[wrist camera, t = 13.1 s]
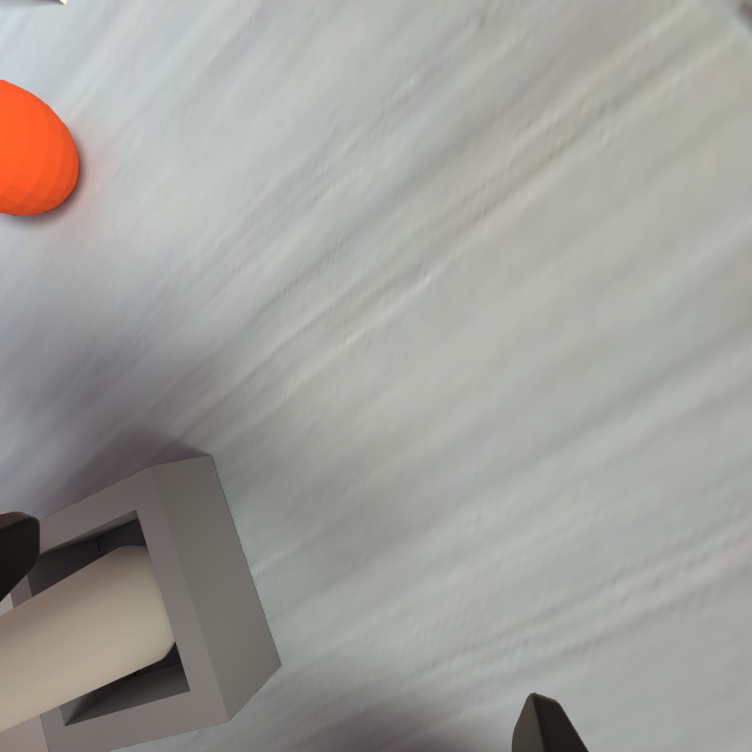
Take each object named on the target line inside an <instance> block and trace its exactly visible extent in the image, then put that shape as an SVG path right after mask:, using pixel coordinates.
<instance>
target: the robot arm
mask: <svg viewBox="0 0 752 752" xmlns="http://www.w3.org/2000/svg"><path fill="white" fill-rule="evenodd" d="M39 557H40V522H39V520H38V519H37V518H36V517H33V516H30V515H27V514H25V513H22V512H10V513H6V514H1V515H0V602H1V601H2V600H3V598H5V596H7V594H8V593H10V591H11V590H12V589H13V588H14V587H15V586H16V585H17V584H18V583H19V582H20V581H21V580H22V579H23V578H24V577H25V576H26V575H27V574H28V573H29V572H30V571H31V570H32V569H33V568H34V566H35V565H36V563H37V561H38V559H39ZM512 752H589V751H588V750H587V748H586V746H585V745H584V743H583V741H582V740H581V738H580V736H579V735H578V733H577V731H576V730H575V728H574V726H573V725H572V723H571V721H570V720H569V718H568V716H567V715H566V713H565V712H564V710H563V708H562V707H561V705H560V704H559V703H558V702H557V701H556V700H554V699H551V698H548V697H545V696H543V695H540V694H537V693H531V694H530V695H529V696H528V697H527V699H526V702H525V704H524V707H523V709H522V712H521V714H520V716H519V719H518V721H517V724H516V726H515V729H514V732H513V738H512Z"/></svg>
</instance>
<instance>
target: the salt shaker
mask: <svg viewBox="0 0 752 752" xmlns="http://www.w3.org/2000/svg"><path fill="white" fill-rule="evenodd" d="M175 642H176V641H175V638H174V635H173V631H172V628H171V625H170V621H169V618H168V614H167V611H166V608H165V604H164V601H163V598H162V594H161V591H160V588H159V584H158V581H157V578H156V574H155V571H154V568H153V564H152V561H151V558H150V554H149V551H148V548H147V546H139V545H126V546H121V547H118V548H117V549H115V550H113V551H111V552H110V553H108V554H106V555H105V556H103V557H101V558H99V559H98V560H96V561H94V562H92V563H91V564H89V565H87V566H86V567H84V568H82V569H80V570H79V571H77V572H75V573H74V574H72V575H70V576H68V577H67V578H65V579H63V580H62V581H60V582H58V583H56V584H55V585H53V586H51V587H49V588H48V589H46V590H44V591H43V592H41V593H39V594H37V595H36V596H34V597H32V598H31V599H29V600H27V601H25V602H24V603H22V604H20V605H19V606H17V607H15V608H13V609H12V610H10V611H8V612H7V613H5V614H3V615H1V616H0V732H2V731H4V730H6V729H8V728H11V727H13V726H15V725H18V724H20V723H22V722H24V721H26V720H29V719H31V718H33V717H35V716H37V715H40V714H42V713H44V712H46V711H49V710H51V709H53V708H55V707H57V706H60V705H62V704H64V703H66V702H69V701H71V700H73V699H75V698H77V697H80V696H82V695H84V694H86V693H88V692H91V691H93V690H95V689H97V688H100V687H102V686H104V685H106V684H108V683H111V682H113V681H115V680H117V679H120V678H122V677H124V676H126V675H128V674H131V673H133V672H135V671H137V670H139V669H142V668H144V667H146V666H148V665H151V664H153V663H155V662H157V661H159V660H162V659H163V658H164V657H165V656H166V655H167V654H168V653H169V652H170V650H171V649H172V647H173V645H174V644H175Z"/></svg>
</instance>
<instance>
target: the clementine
mask: <svg viewBox="0 0 752 752" xmlns="http://www.w3.org/2000/svg"><path fill="white" fill-rule="evenodd" d="M78 171H79V159H78V153H77V148H76V146H75V144H74V141H73V139H72V137H71V135H70V133H69V131H68V128H67V127H66V126H65V124H64V123H63V122H62V121H61V120H60V119H59V117H58V116H57V115H56V114H55V113H54V112H53V110H52V109H51V108H50V107H49V106H48V105H47V104H45V103H44V102H43V101H41V100H40V99H39V98H37V97H36V96H35V95H33V94H32V93H30V92H28V91H26V90H24V89H22V88H20V87H18V86H16V85H13V84H11V83H9V82H7V81H4V80H0V212H1V213H5V214H10V215H15V216H16V215H34V214H39V213H42V212H45V211H48V210H51V209H53V208H55V207H57V206H58V205H60V204H61V203H62V202H63V201H64V200H65V199H66V198H67V197H68V196H69V195H70V193H71V192H72V190H73V189H74V187H75V184H76V182H77V178H78Z"/></svg>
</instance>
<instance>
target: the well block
mask: <svg viewBox="0 0 752 752" xmlns="http://www.w3.org/2000/svg"><path fill="white" fill-rule="evenodd" d="M138 518H139V521H140V524H141V527H142V531H143V534H144V538H145V541H146V544H147V548H148V551H149V554H150V558H151V561H152V564H153V568H154V571H155V574H156V578H157V581H158V584H159V588H160V591H161V594H162V598H163V601H164V604H165V608H166V611H167V614H168V618H169V621H170V625H171V628H172V631H173V635H174V638H175V641H176V645H177V648H178V651H179V655H180V658H181V661H182V663H178V664H175V665H172V666H169V667H165V668H162V669H159V670H156V671H153V672H149V673H146V674H143V675H140V676H136V677H135V675H134V672H133V673H131V674H128V675H126V676H124V677H122V678H120V679H117V680H115V681H113V682H111V683H108V684H106V685H104V686H102V687H100V688H97V689H95V690H93V691H91V692H88V693H86V694H84V695H82V696H80V697H77V698H75V699H73V700H71V701H69V702H66V703H64V704H62V705H60V706H57V707H55V708H53V709H51V710H49V711H46V712H44V713H42V714H40V718H41V722H42V726H43V730H44V734H45V739H46V743H47V747H48V751H49V752H107V751H111V750H115V749H119V748H123V747H127V746H131V745H135V744H139V743H143V742H147V741H151V740H155V739H159V738H163V737H167V736H172V735H176V734H180V733H184V732H188V731H192V730H196V729H200V728H204V727H208V726H212V725H216V724H220V723H224V722H228V721H230V720H231V719H232V718H233V717H234V716H235V714H236V713H237V712H238V711H239V710H240V709H241V708H242V707H243V706H244V705H245V704H246V703H247V702H248V701H249V700H250V699H251V697H252V696H253V695H254V694H255V693H256V692H257V691H258V690H259V689H260V688H261V687H262V686H263V685H264V684H265V683H266V682H267V680H268V679H269V678H270V677H271V676H272V675H273V674H274V673H275V672H276V671H277V670H278V669H279V668H280V667H281V663H280V660H279V657H278V654H277V651H276V648H275V645H274V642H273V639H272V636H271V633H270V630H269V627H268V624H267V621H266V618H265V615H264V612H263V609H262V606H261V604H260V601H259V598H258V595H257V592H256V589H255V586H254V583H253V580H252V577H251V574H250V571H249V568H248V565H247V562H246V559H245V556H244V553H243V550H242V547H241V544H240V541H239V538H238V535H237V532H236V529H235V526H234V523H233V520H232V517H231V514H230V511H229V508H228V505H227V502H226V499H225V496H224V493H223V490H222V487H221V484H220V481H219V478H218V475H217V472H216V469H215V466H214V463H213V460H212V457H211V455H207V456H201V457H196V458H191V459H185V460H180V461H175V462H169V463H164V464H159V465H153V466H149V467H147V468H145V469H143V470H141V471H139V472H137V473H135V474H133V475H131V476H129V477H127V478H125V479H123V480H121V481H119V482H117V483H115V484H113V485H111V486H109V487H107V488H105V489H103V490H101V491H99V492H97V493H94V494H92V495H90V496H88V497H86V498H84V499H82V500H80V501H78V502H76V503H74V504H72V505H70V506H68V507H66V508H64V509H62V510H60V511H58V512H56V513H54V514H52V515H50V516H48V517H46V518H44V519H42V520H40V521H39V522H40V557H39V559H38V561H37V563H36V565H35V566H34V568H33V569H32V570H31V571H30V572H29V573H28V574H27V575H26V576H25V577H24V578H23V579H22V580H21V581H20V582H19V583H18V584H17V585H16V586H15V587H14V588H13V589H12V590H11V591H10V594H11V598H12V602H13V606H14V608H15V607H17V606H19V605H20V604H22V603H24V602H25V601H27V600H29V599H31V598H32V597H34V596H36V595H37V594H39V593H41V592H43V591H44V590H46V589H48V588H49V587H51V586H53V585H55V584H56V583H58V582H60V581H62V580H63V579H65V578H67V577H68V576H70V575H72V574H74V573H75V572H77V571H79V570H80V569H82V568H84V567H86V566H87V565H89V564H91V563H92V562H94V561H96V560H98V559H99V558H101V553H100V550H99V546H98V543H97V539H96V537H98V536H100V535H102V534H105V533H107V532H109V531H111V530H113V529H116V528H118V527H120V526H122V525H125V524H127V523H129V522H131V521H133V520H136V519H138Z"/></svg>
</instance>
